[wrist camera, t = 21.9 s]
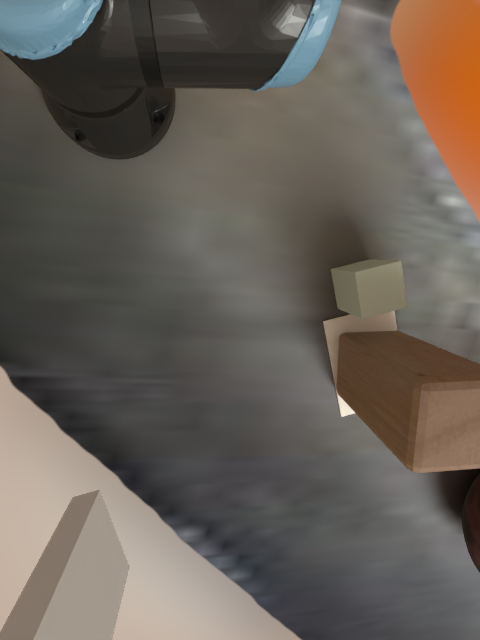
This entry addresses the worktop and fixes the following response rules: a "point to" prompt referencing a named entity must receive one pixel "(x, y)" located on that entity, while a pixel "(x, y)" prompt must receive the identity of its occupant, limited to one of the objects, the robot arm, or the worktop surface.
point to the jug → (472, 521)
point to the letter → (352, 325)
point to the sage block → (369, 287)
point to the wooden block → (413, 398)
